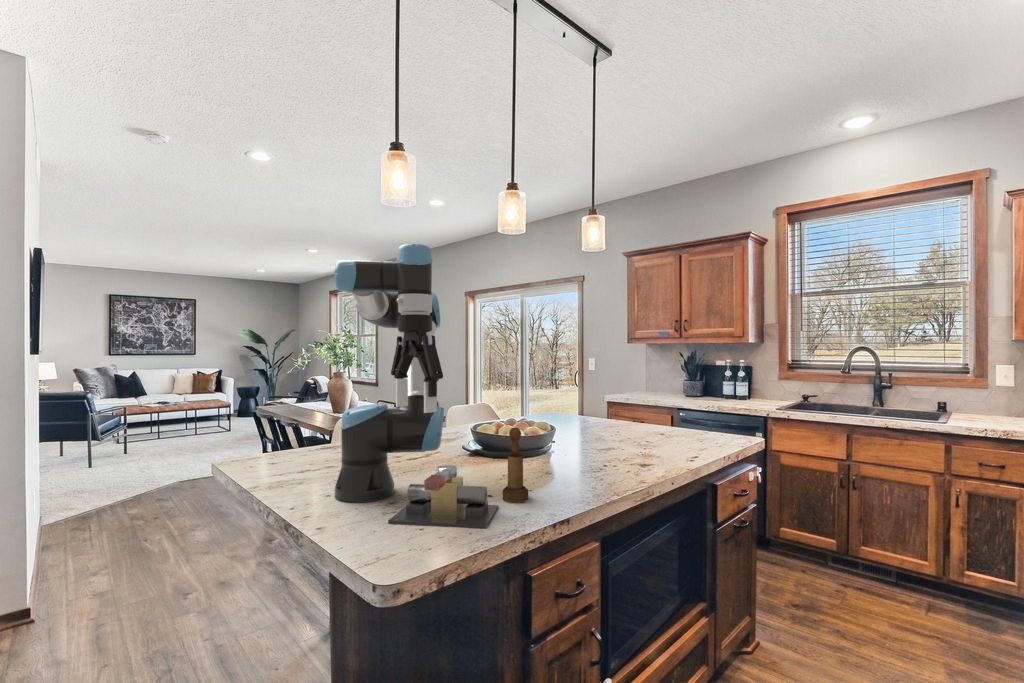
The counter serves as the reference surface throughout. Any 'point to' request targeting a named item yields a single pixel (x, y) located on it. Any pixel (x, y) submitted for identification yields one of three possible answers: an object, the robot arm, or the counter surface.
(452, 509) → the valve
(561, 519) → the counter surface
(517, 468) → the brown pepper mill
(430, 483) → the lever
